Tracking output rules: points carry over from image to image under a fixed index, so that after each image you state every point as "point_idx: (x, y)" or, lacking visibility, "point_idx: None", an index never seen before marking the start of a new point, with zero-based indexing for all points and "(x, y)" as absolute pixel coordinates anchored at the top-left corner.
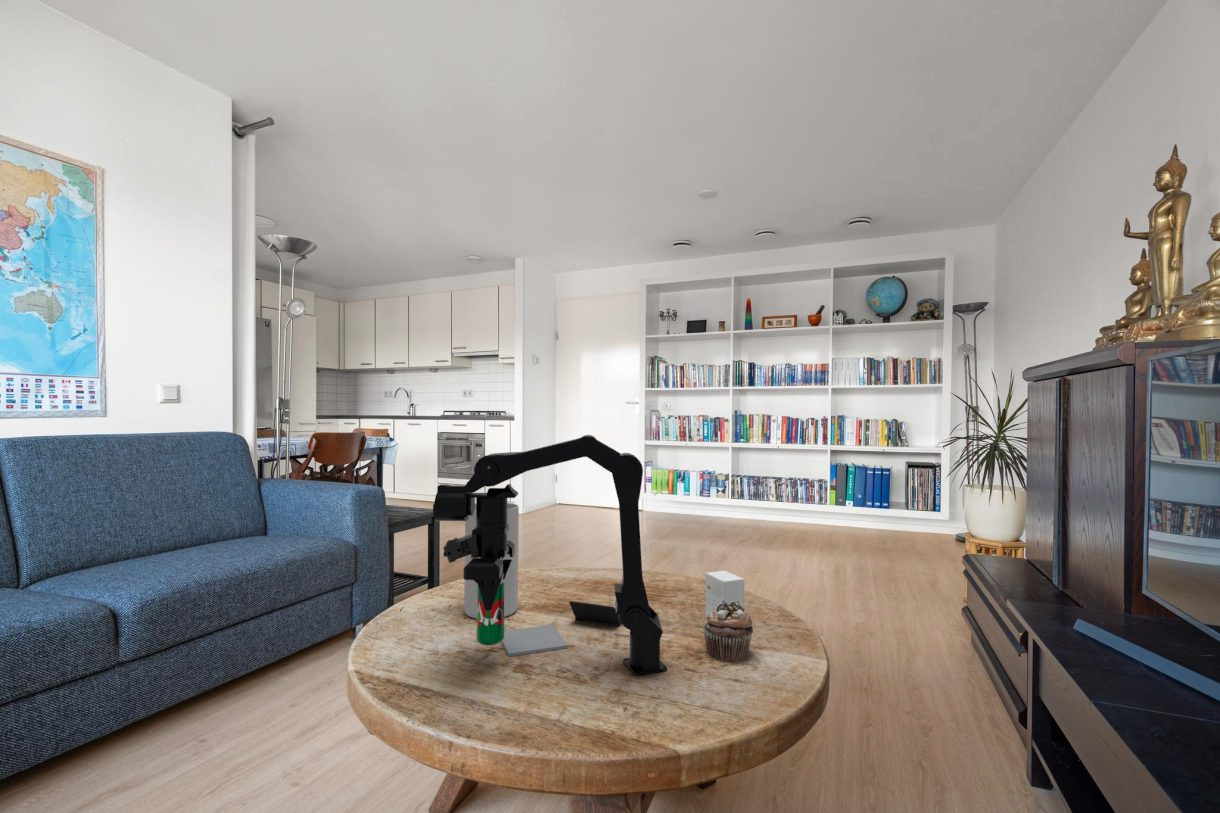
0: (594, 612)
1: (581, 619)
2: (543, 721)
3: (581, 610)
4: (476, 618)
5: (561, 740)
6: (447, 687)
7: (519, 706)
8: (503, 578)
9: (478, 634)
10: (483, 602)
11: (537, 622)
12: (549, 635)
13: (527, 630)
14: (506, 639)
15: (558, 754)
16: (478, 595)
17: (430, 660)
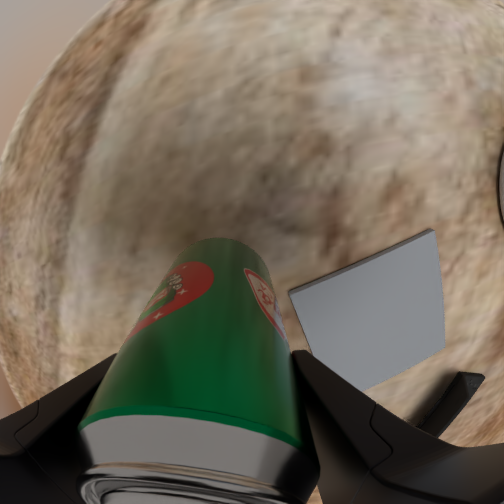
0: (434, 424)
1: (453, 384)
2: (50, 376)
3: (452, 403)
4: (502, 157)
5: (29, 391)
6: (101, 180)
7: (69, 345)
8: (323, 501)
9: (175, 261)
10: (84, 374)
11: (471, 306)
12: (391, 359)
13: (429, 304)
14: (385, 266)
15: (11, 384)
16: (121, 355)
17: (257, 74)
